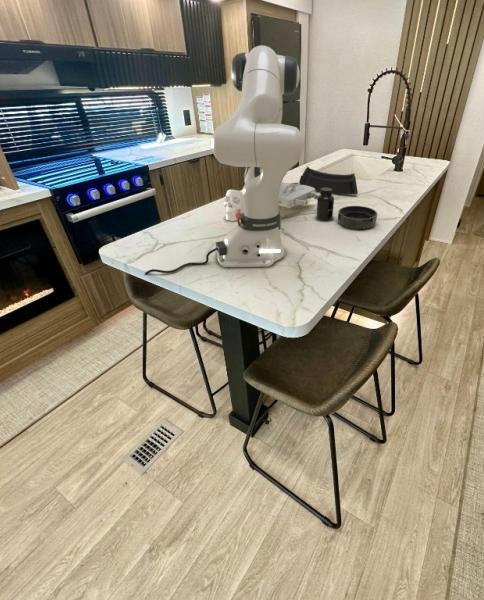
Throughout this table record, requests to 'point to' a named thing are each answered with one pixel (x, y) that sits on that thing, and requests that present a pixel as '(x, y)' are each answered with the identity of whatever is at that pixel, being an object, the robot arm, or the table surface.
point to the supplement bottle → (325, 204)
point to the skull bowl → (233, 204)
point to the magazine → (329, 181)
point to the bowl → (357, 217)
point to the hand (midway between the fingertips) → (312, 200)
